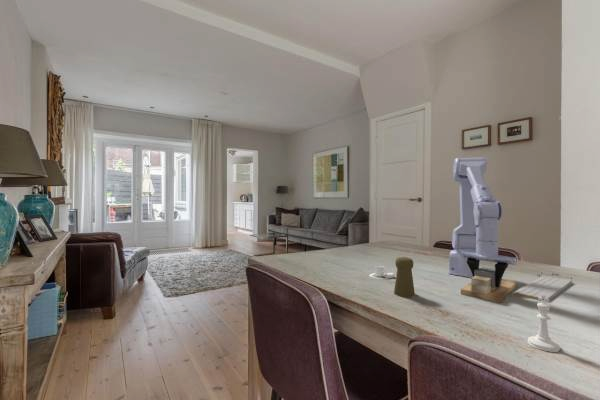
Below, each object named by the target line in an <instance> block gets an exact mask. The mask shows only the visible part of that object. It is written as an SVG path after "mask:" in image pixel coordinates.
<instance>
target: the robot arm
mask: <svg viewBox="0 0 600 400" xmlns="http://www.w3.org/2000/svg"><path fill="white" fill-rule="evenodd" d="M486 171H487V159H486V158H485V157H484V156H481V157H456V158H455V159H454V160H453V167H452V172H453V173H452V175H453V176H452V177H453V180H454V181H455V182H457V183H458V187H459V211H460V212H459V213H460V215H459V217H460V221H459V222H460V225H458V226H457V227H455V228H454V229H453V230H452V237H451V245H452V248H453V249H452V250H450V253H449V255H448V256H449V263H448V269H449V270H448V274H449V275H454V276H460V277H461V276H462V277H465V278H470V279H471V278H472V277H474V270H477V269H479V268H480V261H482V262H483V261H485V262H491V263H494V269H495V272H496V281H495V286H496V287H500V282H501V279H503V276H504V273H505V271H506V270H507V268H508V266H509V265H511V266H517V257H512V256H506V255H500V254H499V221H500V220H501V218H502V213H503V209H502V204H501V202H500V201H499V200H498V199H496V198H494V195H493V191H492V189H491V187H490V186H489V185H488V184H485V178H484V175H485V173H486Z"/></svg>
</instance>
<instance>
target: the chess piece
mask: <svg viewBox="0 0 600 400" xmlns="http://www.w3.org/2000/svg"><path fill="white" fill-rule="evenodd" d="M538 299H539V300H538V301H540V300H542V301H541V302H538V303H537V304H536V306H537V309H538V312H539V313H537V315H536V318H538V319H539V327H538V333H537V334H536V335H533V336H531V335H530V336H529V337H528V338H527V344H528V345H530V346H531V347H533V348H535V349H537V350H540V351H545V352H548V351H549V353H557V352H560V351H561V347H560V344H558V342H556V341H554V340H553V339H552V338H551V337H550V336H549V329H548V321H550V320H551V317H550V316H548V313H549V310H550V308H551V305H550V304H548V303H549V302H550V300H549V299H546V298H545V295H542V297H538ZM545 301H546V302H545ZM559 350H560V351H559Z"/></svg>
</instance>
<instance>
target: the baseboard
mask: <svg viewBox="0 0 600 400" xmlns="http://www.w3.org/2000/svg"><path fill="white" fill-rule="evenodd" d="M542 274H544V273H543V272H541V273H540V274H538V277H537V278H536V279H534V280H533V281H530V282H528V283H527V284H526V285H524V286H522V287H520V288H518V289H516V290H513V291H512V292H510V294H511V295H513V296H517V297H523V298H528V299H531V300H536V301H539V302H542V300H539V299H538V297H542V295H545V298H546V299H549V301H550V300H552V299H553V298H554V297H556V296H557V295H559V293H561V292H562V291H564V290H565V289H566V288H568V287H569V286H570V285H572V284H573V280H572V279H573V278H572V277H570V279H567V278H568V277H567V276H566V277H565V278H566V279H565V278H562V276H560V274H558V273H552V276H550V274H547V275H549V276H547V275H544V276H541V275H542ZM554 276H557V277H554ZM559 277H561V278H559ZM545 303H547V302H546V301H545Z"/></svg>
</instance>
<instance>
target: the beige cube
mask: <svg viewBox="0 0 600 400" xmlns="http://www.w3.org/2000/svg"><path fill="white" fill-rule="evenodd" d="M470 279H471V282H470V283H471V292H476V293H481V294H486V295H487V294H489V293H490V292H491V278H487V277H481V276H474V277H472V278H471V277H470Z"/></svg>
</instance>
